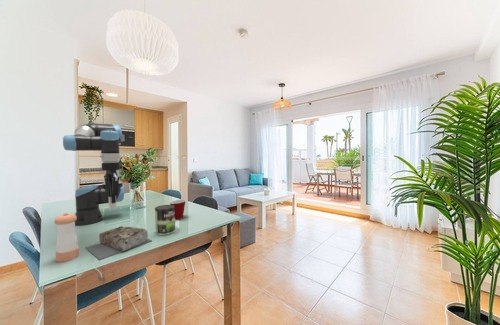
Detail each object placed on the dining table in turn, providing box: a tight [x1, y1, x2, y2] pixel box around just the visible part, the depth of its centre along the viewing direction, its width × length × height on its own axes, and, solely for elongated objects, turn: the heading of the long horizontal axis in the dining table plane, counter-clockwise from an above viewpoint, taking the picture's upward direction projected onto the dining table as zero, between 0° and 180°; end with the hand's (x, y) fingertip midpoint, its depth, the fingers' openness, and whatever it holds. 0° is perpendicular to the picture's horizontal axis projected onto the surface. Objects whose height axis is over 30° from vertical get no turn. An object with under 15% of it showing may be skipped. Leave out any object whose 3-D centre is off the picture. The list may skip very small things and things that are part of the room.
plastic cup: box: [168, 199, 187, 220], centre depth 135 cm, size 11×11×12 cm
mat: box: [85, 237, 152, 261], centre depth 96 cm, size 18×22×1 cm
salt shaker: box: [54, 212, 80, 263], centre depth 84 cm, size 7×7×19 cm
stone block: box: [98, 226, 149, 252], centre depth 98 cm, size 13×7×20 cm
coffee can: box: [154, 204, 176, 236], centre depth 112 cm, size 10×10×14 cm
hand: (112, 209), depth 100 cm, fingers closed
